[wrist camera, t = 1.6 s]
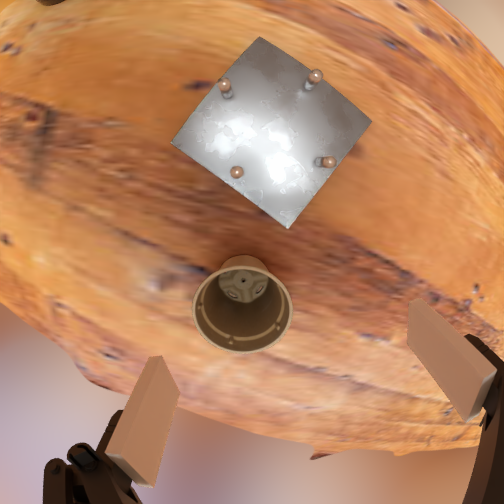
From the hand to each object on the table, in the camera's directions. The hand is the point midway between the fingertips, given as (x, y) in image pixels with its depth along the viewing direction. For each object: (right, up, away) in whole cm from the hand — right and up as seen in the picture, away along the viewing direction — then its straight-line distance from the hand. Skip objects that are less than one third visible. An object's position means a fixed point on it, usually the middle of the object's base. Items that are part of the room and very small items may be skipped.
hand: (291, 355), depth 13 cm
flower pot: (-3, +2, +21) cm, 21 cm away
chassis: (0, +19, +16) cm, 24 cm away
